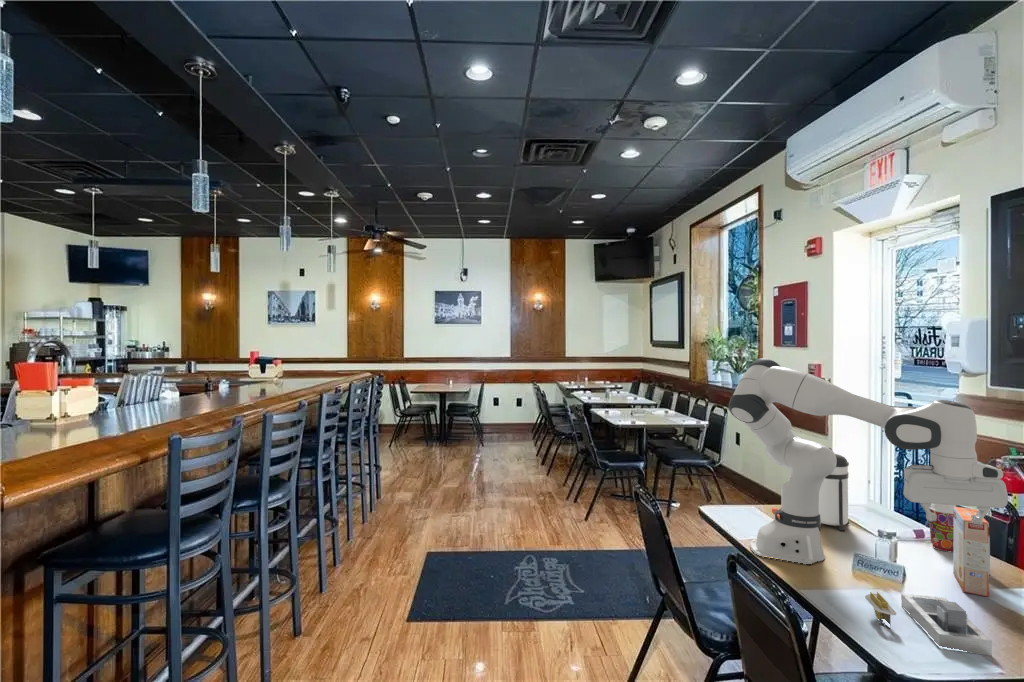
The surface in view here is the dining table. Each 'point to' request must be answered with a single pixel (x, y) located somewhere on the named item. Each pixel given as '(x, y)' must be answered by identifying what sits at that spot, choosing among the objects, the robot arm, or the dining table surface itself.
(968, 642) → the grey rectangular tray
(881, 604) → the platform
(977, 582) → the cracker box
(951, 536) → the smoothie
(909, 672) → the dining table surface
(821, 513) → the coffee press
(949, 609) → the grey rectangular block
